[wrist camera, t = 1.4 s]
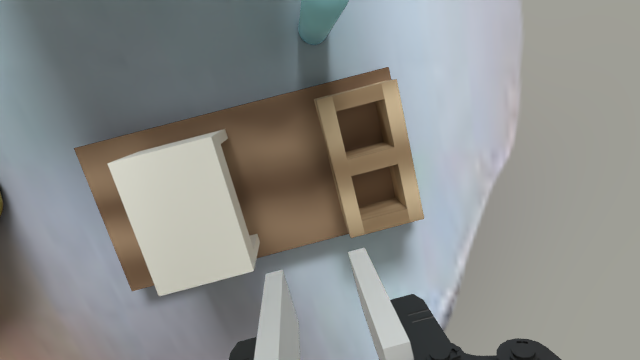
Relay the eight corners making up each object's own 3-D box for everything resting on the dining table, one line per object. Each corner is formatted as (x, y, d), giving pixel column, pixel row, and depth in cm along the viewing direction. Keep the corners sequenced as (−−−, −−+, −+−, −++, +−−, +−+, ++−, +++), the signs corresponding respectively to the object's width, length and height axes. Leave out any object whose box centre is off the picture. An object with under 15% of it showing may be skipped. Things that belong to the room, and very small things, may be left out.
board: (86, 145, 33) (47, 154, 27) (382, 68, 33) (400, 63, 28) (140, 280, 36) (113, 313, 30) (411, 208, 36) (432, 228, 31)
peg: (295, 16, 32) (297, -28, 20) (324, 9, 32) (344, -40, 20) (302, 47, 32) (309, 21, 21) (331, 40, 32) (354, 10, 21)
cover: (139, 151, 31) (107, 163, 25) (225, 129, 31) (210, 136, 25) (180, 263, 33) (158, 296, 28) (259, 242, 33) (253, 271, 28)
